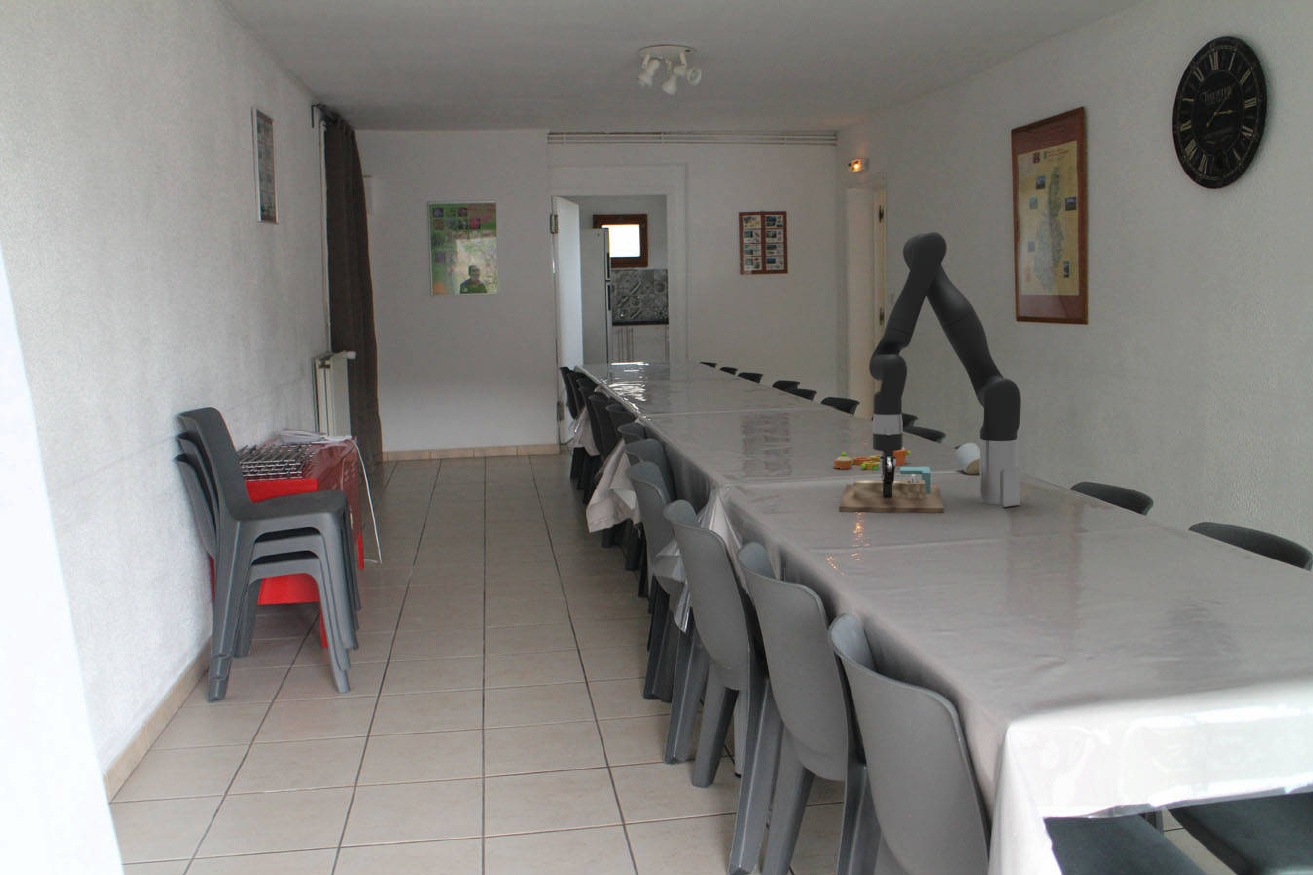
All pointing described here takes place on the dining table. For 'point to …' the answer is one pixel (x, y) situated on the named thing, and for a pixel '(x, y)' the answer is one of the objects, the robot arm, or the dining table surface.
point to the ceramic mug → (969, 458)
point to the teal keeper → (919, 470)
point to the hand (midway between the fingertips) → (887, 497)
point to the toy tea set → (869, 460)
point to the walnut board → (892, 503)
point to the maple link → (899, 489)
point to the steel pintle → (913, 478)
